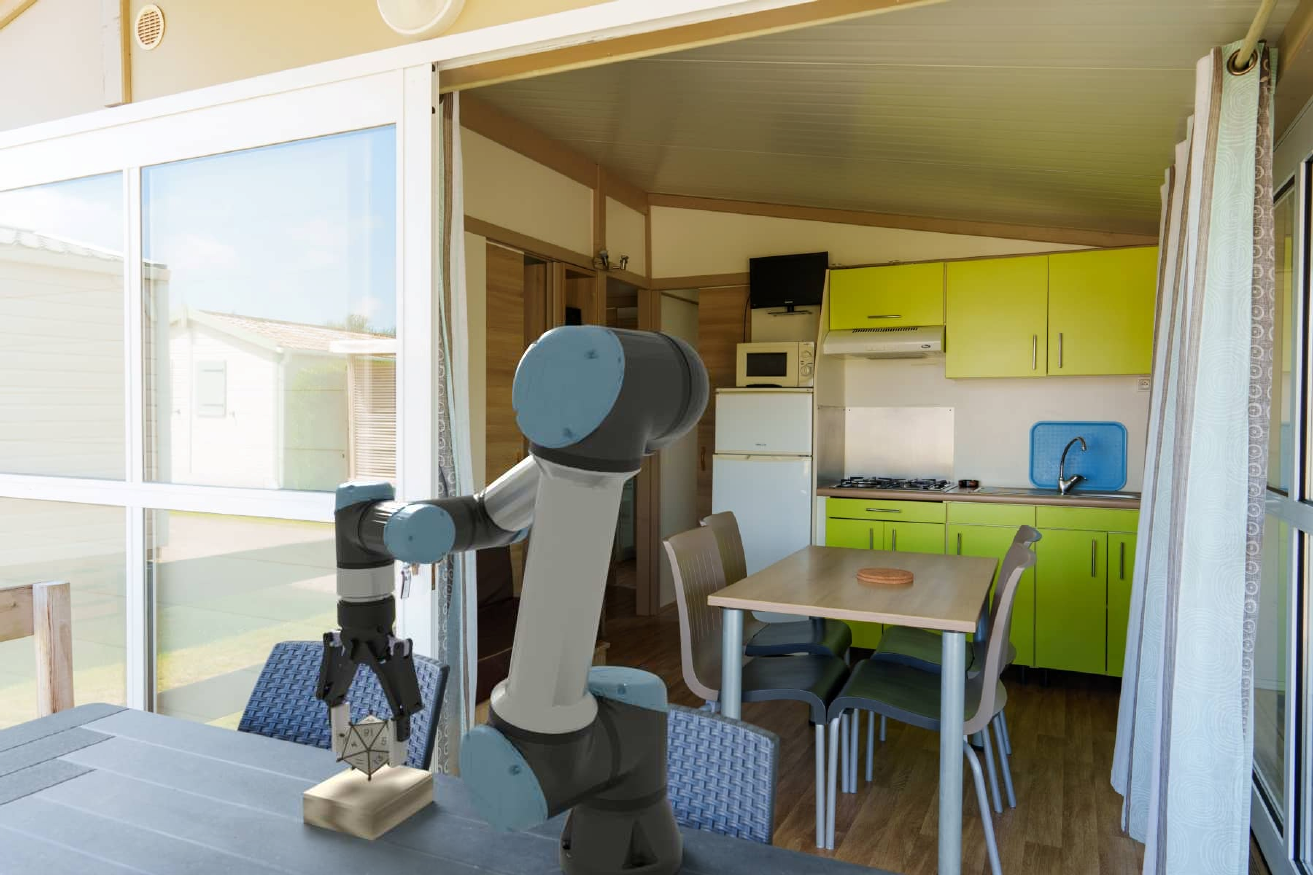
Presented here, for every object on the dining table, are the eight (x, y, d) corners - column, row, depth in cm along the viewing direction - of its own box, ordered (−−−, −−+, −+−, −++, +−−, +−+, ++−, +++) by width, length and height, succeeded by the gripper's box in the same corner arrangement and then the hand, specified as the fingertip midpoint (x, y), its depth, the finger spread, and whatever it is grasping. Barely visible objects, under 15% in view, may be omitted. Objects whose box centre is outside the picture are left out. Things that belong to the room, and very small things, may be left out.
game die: (361, 805, 115) (315, 761, 110) (365, 760, 122) (322, 716, 117) (419, 772, 115) (376, 726, 110) (419, 728, 122) (378, 684, 118)
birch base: (433, 800, 120) (433, 772, 119) (372, 840, 109) (372, 809, 109) (367, 784, 125) (367, 758, 124) (303, 821, 114) (302, 792, 113)
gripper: (449, 596, 114) (452, 760, 115) (326, 583, 123) (329, 735, 124) (412, 609, 107) (415, 782, 108) (284, 593, 116) (288, 754, 117)
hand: (369, 757), depth 116 cm, fingers closed on game die, 9 cm apart
